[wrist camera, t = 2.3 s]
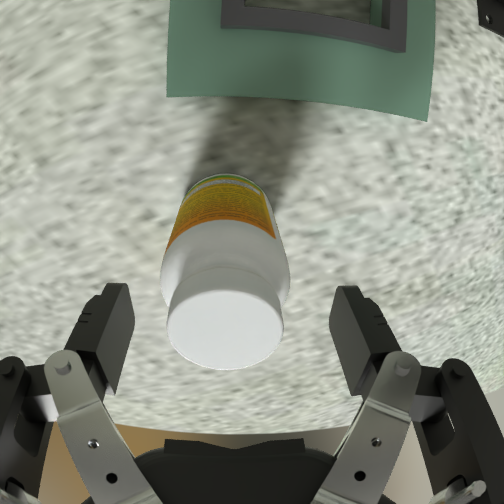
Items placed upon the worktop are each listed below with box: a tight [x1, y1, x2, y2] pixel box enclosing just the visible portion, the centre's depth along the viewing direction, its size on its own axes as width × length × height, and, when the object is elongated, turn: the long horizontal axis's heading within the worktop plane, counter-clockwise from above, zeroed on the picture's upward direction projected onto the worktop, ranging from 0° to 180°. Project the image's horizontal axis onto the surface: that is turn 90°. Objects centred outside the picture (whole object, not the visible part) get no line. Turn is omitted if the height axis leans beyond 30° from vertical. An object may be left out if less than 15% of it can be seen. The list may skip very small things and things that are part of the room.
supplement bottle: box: [160, 173, 290, 370], centre depth 14 cm, size 5×5×10 cm
